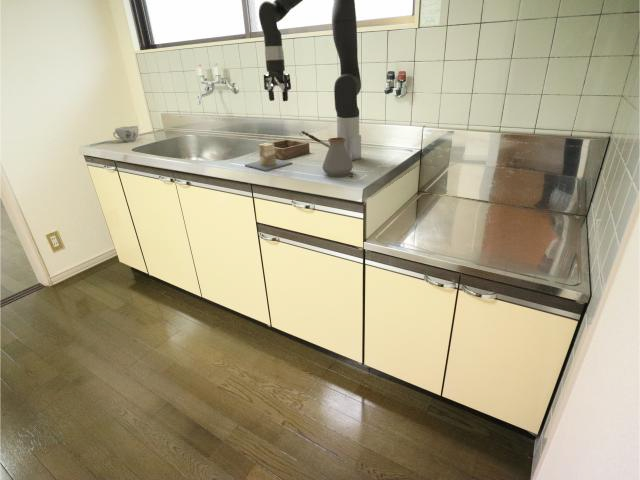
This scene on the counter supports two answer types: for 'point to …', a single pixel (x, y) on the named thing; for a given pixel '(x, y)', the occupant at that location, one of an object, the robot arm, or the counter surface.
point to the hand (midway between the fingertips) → (278, 100)
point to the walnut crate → (290, 148)
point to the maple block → (267, 153)
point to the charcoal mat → (266, 168)
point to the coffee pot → (335, 157)
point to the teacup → (127, 133)
